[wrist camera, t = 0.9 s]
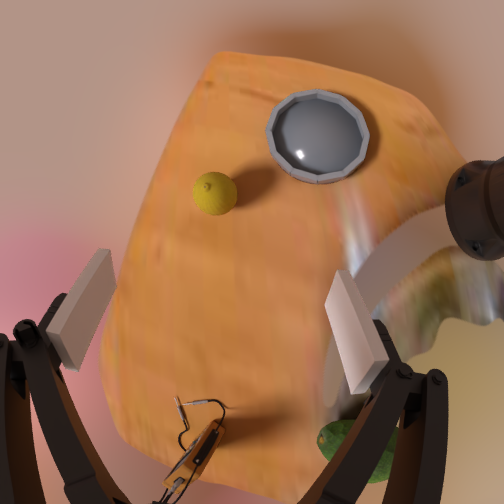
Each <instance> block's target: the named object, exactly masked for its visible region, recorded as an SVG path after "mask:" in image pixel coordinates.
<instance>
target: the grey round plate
mask: <svg viewBox="0 0 504 504" xmlns="http://www.w3.org/2000/svg"><path fill="white" fill-rule="evenodd" d="M265 131H266V136H267V140H268V144H269V148H270V152H271V155H272V157H273V159H274V160H275V161H276V162H277V163H278V165H279V166H280V167H281V168H282V169H283V170H284V171H285V172H286V173H287V174H289V175H290V176H292V177H294V178H296V179H297V180H300V181H303V182H306V183H310V184H331V183H334V182H338V181H340V180H342V179H345V178H346V177H348V176H349V175H350V174H351V173H353V172H354V171H355V170H356V168H357V167H358V166H359V165H360V164H361V163H362V162H363V160H364V159H365V155H366V151H367V146H368V142H369V138H370V134H369V131H368V128H367V125H366V123H365V120H364V117H363V115H362V113H361V111H360V110H359V109H357V108H356V107H355V106H354V105H353V104H352V103H351V102H349V101H348V100H347V99H346V98H345V97H343V96H342V95H339V94H335V93H332V92H328V91H324V90H320V89H313V90H307V91H301V92H296V93H293V94H291V95H289V96H288V97H287V98H285V99H284V100H283V101H282V102H280V103H279V104H278V105H277V106H275V107H274V109H273V110H272V113H271V116H270V118H269V121H268V124H267V126H266V129H265Z"/></svg>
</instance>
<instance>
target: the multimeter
mask: <svg viewBox="0 0 504 504" xmlns="http://www.w3.org/2000/svg"><path fill="white" fill-rule="evenodd" d="M175 401H176V403H177V400H176V398H175ZM211 401H215V402H217V403H219V404H220V405H221V407H222V408H223V410H224V413H223V417H222V419H221V421H220V423H219V424H217V423H216V422H214V421H211V422H210V424H209V425H208V426H207V427H206V428H205V429H204V430H203V431H202V432H201V433H200V434H199V435H198V436H197V438H195V440H194V441H193V442H192V443H191V445H190V446H189V447H188V449H187V450H185V449H184V448H183V447H182V445H181V444H180V435H181V434H182V433H184V432H186V431H187V425H186V423H185V421H184V416H183V414H182V411H181V408H180V406H179V405H178V403H177V408H178V411H179V414H180V416H181V418H182V420H183V422H184V424H185V427H186V430H185V431H183V432H181V433H180V434H179V437H178V442H179V445H180V446H181V448H182V449H183V450H184V451H185V453H184V454H183V456H182V457H181V458H180V460H179V461H178V463H177V464H176V465H175V467H174V468H173V469H172V471H171V472H170V473H169V475H168V476H167V477H166V479H165V480H164V481H163V483H162V484H163V485H164V486H165V487H167V489H166V491H165V493H164V495H163V497H162V499H161V500H160V501H159V502H162V500H163V499H164V497H165V495H166V493H167V491H168V489H170V492H169V493H168V495H167V497H166V498H165V500H164V501H163V503H167V501H168V500H169V498H170V497H171V495H172V494H173V493H176V494H179V493H180V492H181V491H182V490H183V491H182V493H181V494H180V496H179V497H178V498H177V500H176V501H175V502H174V503H172V504H175V503H176V502H177V501H178V500H179V499H180V498H181V496H182V495H183V493H184V491H185V490H186V488H187V486H189V485H190V484H191V483H192V482H194V481H195V480H196V479H198V478H199V477H200V475H201V474H202V472H203V470H204V469H205V467H206V465H207V463H208V462H209V460H210V458H211V456H212V455H213V453H214V451H215V449H216V447H217V446H218V444H219V442H220V440H221V438H222V436H223V435H224V433H225V431H226V429H224V428H223V427H222V426H220V425H221V423H222V421H223V419H224V416H225V409H224V407H223V406H222V404H221V403H220V402H219V401H217V400H203V401H195V402H194V401H193V402H192V403H187V404H183V405H188V404H193V405H195V404H202V403H207V402H211Z"/></svg>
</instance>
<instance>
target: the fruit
mask: <svg viewBox="0 0 504 504" xmlns="http://www.w3.org/2000/svg"><path fill="white" fill-rule="evenodd" d="M355 421H356V419H354V420H338V421H335V422H331V423H330V424H328V425H326V426H325V427H323V428H322V429H321V431H320V433H319V435H318V437H317V444H318V447H319V449H320V450H321V452H322V454H323V455H324V457H325V458H326V459H327V460H328V461H329V462H330V460H331V459H332V457H333V456H334V454H335V453H336V451H337V450H338V448H339V447H340V445H341V443H342V442H343V440H344V439H345V437H346V436H347V434H348V432H349V431H350V429H351V427H352V426H353V424H354V422H355ZM398 429H399V428H398V427H395V429H394V432H393V434H392V436H391V438H390V440H389V442H388V445H387V447H386V449H385V451H384V453H383V455H382V457H381V459H380V461H379V463H378V464H377V466H376V468H375V470H374V472H373V474H372V476H371V477H370V479H369V481H368V483H376V482H381V481H384V480H387V479H389V475H390V471H391V466H392V462H393V457H394V452H395V447H396V441H397V435H398Z"/></svg>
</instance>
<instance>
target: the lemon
mask: <svg viewBox="0 0 504 504" xmlns="http://www.w3.org/2000/svg"><path fill="white" fill-rule="evenodd" d="M237 196H238V193H237V188H236V185H235V183H234V182H233V181H232V180H231V179H230V178H229V177H228V176H226V175H225V174H222V173H219V172H210V173H206V174H204V175H202V176H201V177H199V179H198V180H197V181H196V183H195V185H194V188H193V197H194V201H195V203H196V205H197V206H198V207H199V208H200V209H201V210H202V211H204V212H205V213H207V214H210V215H223V214H225V213H227V212H229V211H230V210H231V209H232V208H233V207H234V206H235V204H236V201H237Z"/></svg>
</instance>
